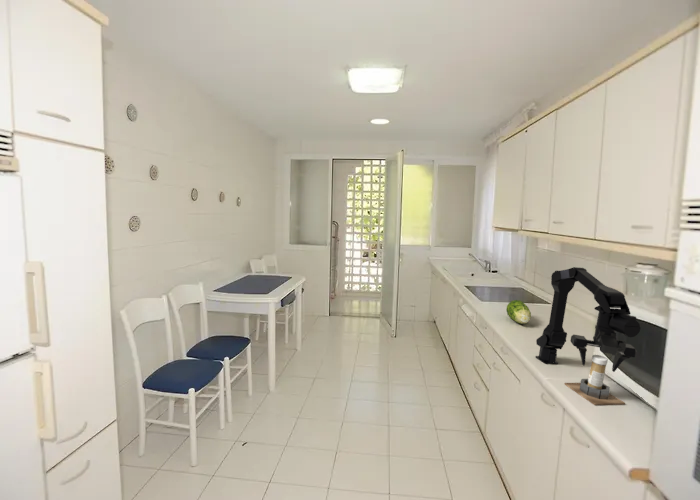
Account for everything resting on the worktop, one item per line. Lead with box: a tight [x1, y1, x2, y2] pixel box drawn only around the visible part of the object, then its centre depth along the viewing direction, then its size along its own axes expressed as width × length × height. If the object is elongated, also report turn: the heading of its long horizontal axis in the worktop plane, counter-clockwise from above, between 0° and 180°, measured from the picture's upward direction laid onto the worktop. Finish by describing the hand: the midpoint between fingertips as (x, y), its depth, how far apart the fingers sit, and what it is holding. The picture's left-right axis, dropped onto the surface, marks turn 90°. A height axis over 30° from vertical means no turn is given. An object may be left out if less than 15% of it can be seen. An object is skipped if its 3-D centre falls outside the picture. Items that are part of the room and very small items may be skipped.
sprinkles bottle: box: [587, 354, 608, 390], centre depth 132 cm, size 5×5×13 cm
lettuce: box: [506, 299, 532, 324], centre depth 210 cm, size 12×21×11 cm, turn 171°
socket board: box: [564, 382, 626, 406], centre depth 133 cm, size 14×12×1 cm
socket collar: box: [579, 378, 611, 399], centre depth 133 cm, size 9×9×3 cm
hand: (598, 368), depth 132 cm, fingers open, 9 cm apart
